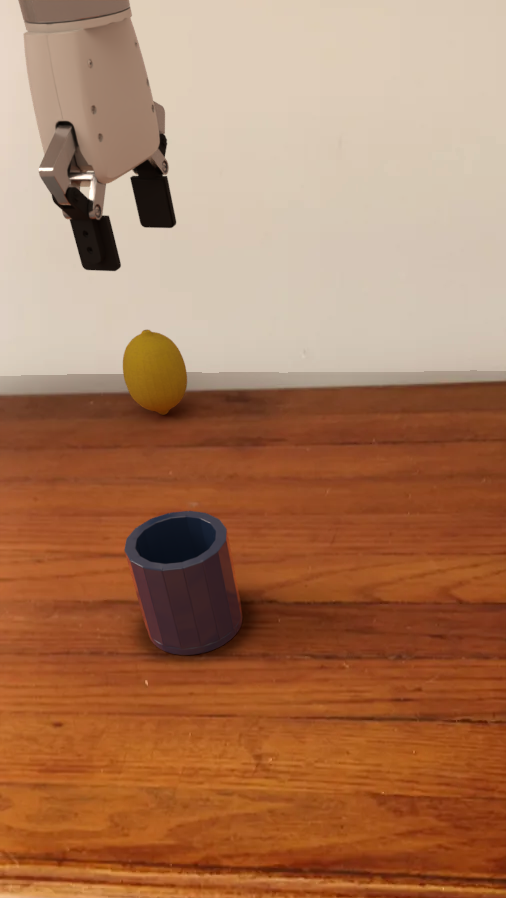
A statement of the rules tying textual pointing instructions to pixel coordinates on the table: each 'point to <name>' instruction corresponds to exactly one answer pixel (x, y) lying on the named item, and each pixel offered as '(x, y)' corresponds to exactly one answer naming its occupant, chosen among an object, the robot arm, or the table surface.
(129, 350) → the lemon
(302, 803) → the table surface
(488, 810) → the table surface
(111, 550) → the table surface
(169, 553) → the cup
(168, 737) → the table surface
